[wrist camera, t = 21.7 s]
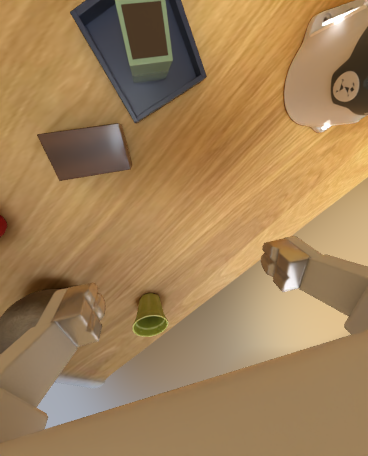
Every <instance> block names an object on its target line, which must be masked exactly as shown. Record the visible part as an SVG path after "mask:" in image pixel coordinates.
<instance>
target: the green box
mask: <svg viewBox="0 0 368 456" xmlns="http://www.w3.org/2000/svg"><path fill="white" fill-rule="evenodd" d="M115 4H116V8H117V13H118V17H119V22H120V26H121V30H122V35H123V39H124V44H125V48H126V53H127V57H128V61H129V66H130V70H131V74H132V78H133V83H140V82H147V81H154V80H162V79H165V78H166V76H167V73H168V71H169V69H170V66H171V64H172V61H173V57H172V49H171V41H170V33H169V25H168V17H167V9H166V1H165V0H115Z"/></svg>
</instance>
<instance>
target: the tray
mask: <svg viewBox="0 0 368 456" xmlns="http://www.w3.org/2000/svg"><path fill="white" fill-rule="evenodd" d="M165 1H166V9H167V17H168V25H169V33H170V41H171V49H172V57H173V61H172V64H171V66H170V69H169V71H168V73H167V76H166V78H165V79H162V80H154V81H147V82H140V83H133V78H132V74H131V70H130V66H129V61H128V57H127V53H126V48H125V44H124V39H123V35H122V30H121V26H120V22H119V17H118V13H117V8H116V4H115V0H86V1H84V2H83V3H82V4H80V5H79V6H77V7H76V8H75V9H73V10H72V11H71V12H70V13H71V15H72V17H73V18H74V20H75V22H76V24H77V25H78V27H79V29H80V30H81V32H82V34H83V35H84V37H85V39H86V41H87V42H88V44H89V46H90V47H91V49H92V51H93V52H94V54H95V56H96V58H97V59H98V61H99V63H100V64H101V66H102V68H103V69H104V71H105V73H106V75H107V76H108V78H109V80H110V81H111V83H112V85H113V86H114V88H115V90H116V92H117V93H118V95H119V97H120V98H121V100H122V102H123V103H124V105H125V107H126V109H127V110H128V112H129V114H130V115H131V117H132V119H133V120H134V122H135V123H138V122H139V121H141V120H143V119H144V118H146V117H147V116H149V115H150V114H152V113H153V112H155V111H156V110H158V109H160V108H161V107H163V106H164V105H166V104H167V103H169V102H170V101H172V100H174V99H175V98H177V97H178V96H180V95H181V94H183V93H184V92H186V91H187V90H189V89H191V88H192V87H194V86H195V85H197V84H198V83H200V82H201V81H203V80H204V79H205V78H206V77H207V76H206V73H205V70H204V67H203V64H202V61H201V59H200V56H199V53H198V50H197V47H196V44H195V41H194V38H193V35H192V32H191V29H190V26H189V23H188V20H187V17H186V14H185V11H184V8H183V5H182V2H181V0H165Z"/></svg>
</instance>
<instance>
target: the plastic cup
mask: <svg viewBox="0 0 368 456" xmlns="http://www.w3.org/2000/svg"><path fill="white" fill-rule="evenodd" d="M6 228H7V222H6V221H5V219H4V218H3V217H2V216H1V215H0V237H1V236H2V235H3V234H4V233H5V231H6Z"/></svg>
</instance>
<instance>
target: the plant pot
mask: <svg viewBox="0 0 368 456" xmlns="http://www.w3.org/2000/svg"><path fill="white" fill-rule="evenodd" d="M167 327H168V320H167V319H166V317H165V315H164V313H163V309H162V305H161V302H160V298H159V296H158V295H157V294H156V295H155V294H153V293H148V294H145V295H143V296H142V297H141V299H140V301H139V306H138V312H137V317H136V320H135V322H134V324H133V327H132V330H133V332H134V333H135V334H136V335H139V336H143V337H149V336H154V335H158V334H160V333H162V332H163V331H164V330H165V329H166V328H167Z"/></svg>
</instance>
